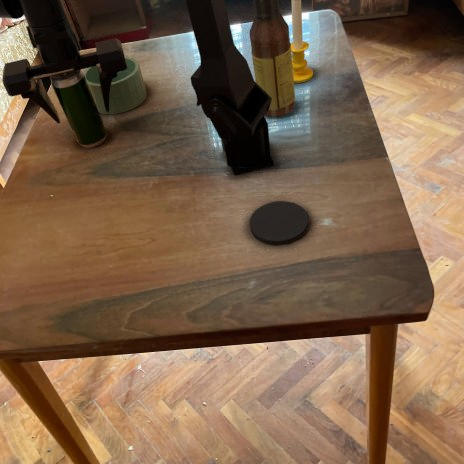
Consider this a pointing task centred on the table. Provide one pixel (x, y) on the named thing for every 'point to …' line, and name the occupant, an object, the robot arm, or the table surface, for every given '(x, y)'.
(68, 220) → the table surface
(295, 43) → the candle
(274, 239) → the black coaster
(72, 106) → the beer can
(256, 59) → the sauce bottle
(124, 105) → the pot
